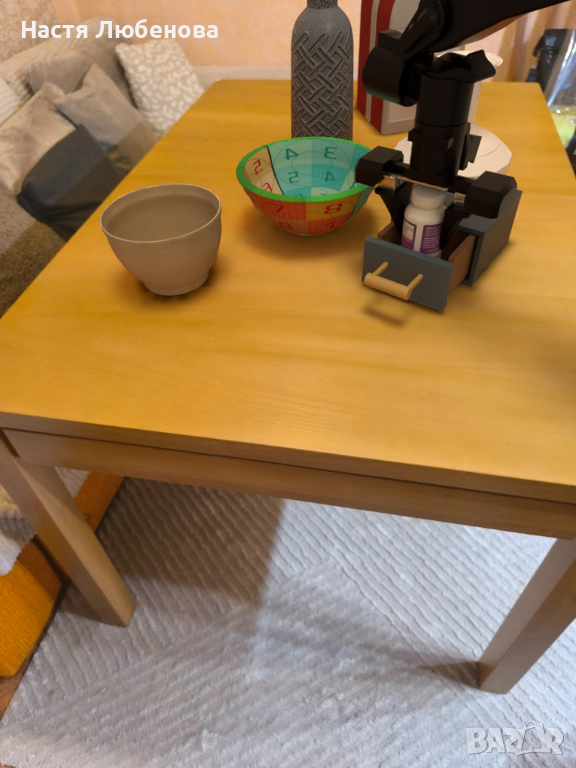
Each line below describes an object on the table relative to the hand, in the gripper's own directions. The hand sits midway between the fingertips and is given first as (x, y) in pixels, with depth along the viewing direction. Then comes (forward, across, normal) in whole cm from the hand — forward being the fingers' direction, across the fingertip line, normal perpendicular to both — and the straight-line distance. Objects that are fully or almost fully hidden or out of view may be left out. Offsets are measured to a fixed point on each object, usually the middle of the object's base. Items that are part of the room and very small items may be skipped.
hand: (422, 242), depth 70 cm
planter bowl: (+7, +30, +18) cm, 35 cm away
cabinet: (+7, 0, -11) cm, 13 cm away
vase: (+7, +36, -30) cm, 47 cm away
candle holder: (+7, +10, -32) cm, 34 cm away
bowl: (+7, +22, -6) cm, 24 cm away
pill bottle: (+3, 0, 0) cm, 3 cm away
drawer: (+6, 0, +1) cm, 6 cm away
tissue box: (+7, +32, -56) cm, 65 cm away
